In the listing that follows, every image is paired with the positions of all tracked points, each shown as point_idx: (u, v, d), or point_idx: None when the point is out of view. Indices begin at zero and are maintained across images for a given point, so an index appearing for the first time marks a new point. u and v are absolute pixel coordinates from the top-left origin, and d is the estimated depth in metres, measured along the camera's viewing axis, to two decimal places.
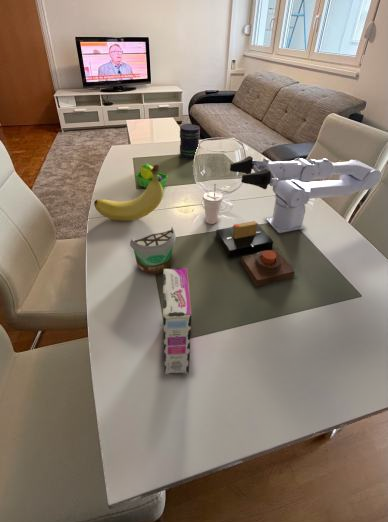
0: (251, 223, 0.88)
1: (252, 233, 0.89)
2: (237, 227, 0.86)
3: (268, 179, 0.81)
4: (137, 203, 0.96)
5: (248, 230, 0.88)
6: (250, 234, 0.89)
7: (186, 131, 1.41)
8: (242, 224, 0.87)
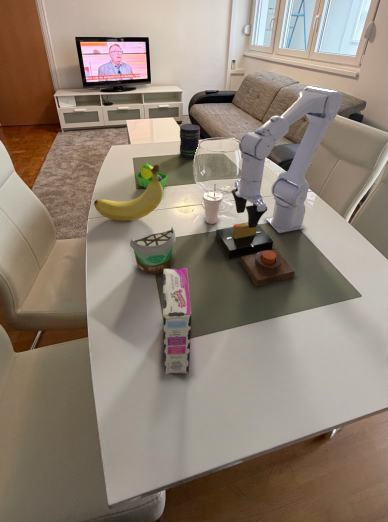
0: None
1: (252, 233, 0.89)
2: (237, 227, 0.86)
3: (257, 211, 0.78)
4: (137, 203, 0.96)
5: (248, 230, 0.88)
6: (250, 234, 0.89)
7: (186, 131, 1.41)
8: (242, 224, 0.87)
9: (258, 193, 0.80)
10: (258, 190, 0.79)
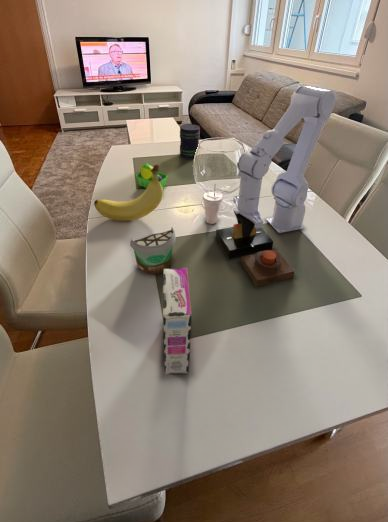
0: None
1: (252, 233, 0.89)
2: (237, 227, 0.86)
3: (250, 222, 0.83)
4: (137, 203, 0.96)
5: None
6: (250, 234, 0.89)
7: (186, 131, 1.41)
8: None
9: (256, 210, 0.83)
10: (256, 207, 0.82)
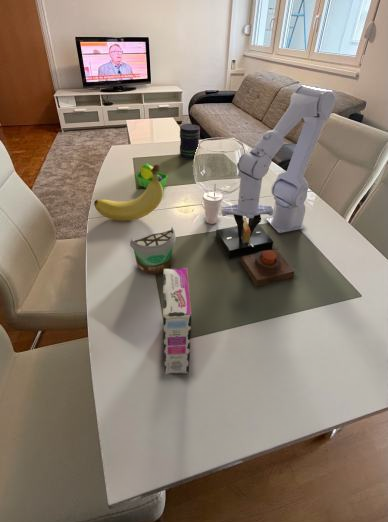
0: (244, 220, 0.89)
1: None
2: None
3: None
4: (137, 203, 0.96)
5: None
6: None
7: (186, 131, 1.41)
8: (245, 226, 0.86)
9: None
10: None
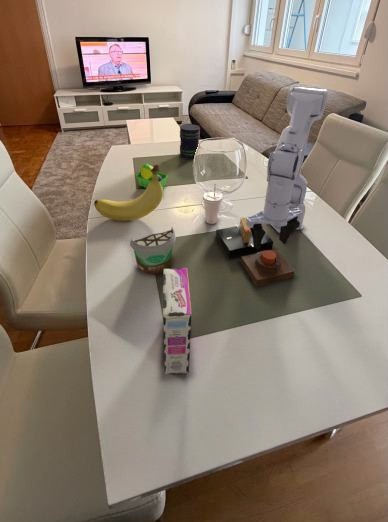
0: (244, 220, 0.89)
1: None
2: None
3: None
4: (137, 203, 0.96)
5: None
6: None
7: (186, 131, 1.41)
8: (245, 226, 0.86)
9: None
10: None
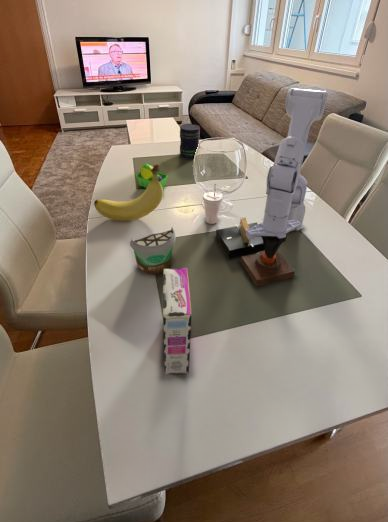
0: (244, 220, 0.89)
1: None
2: None
3: None
4: (137, 203, 0.96)
5: None
6: None
7: (186, 131, 1.41)
8: (245, 226, 0.86)
9: None
10: None
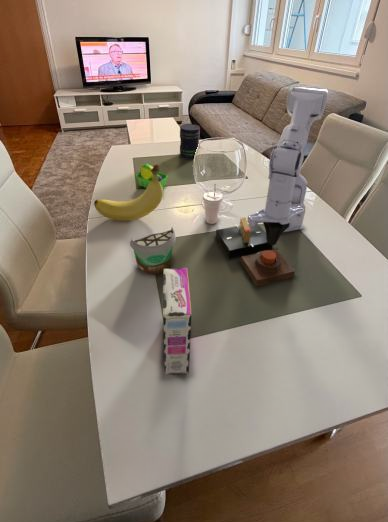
0: (244, 220, 0.89)
1: None
2: None
3: None
4: (137, 203, 0.96)
5: None
6: None
7: (186, 131, 1.41)
8: (245, 226, 0.86)
9: None
10: None
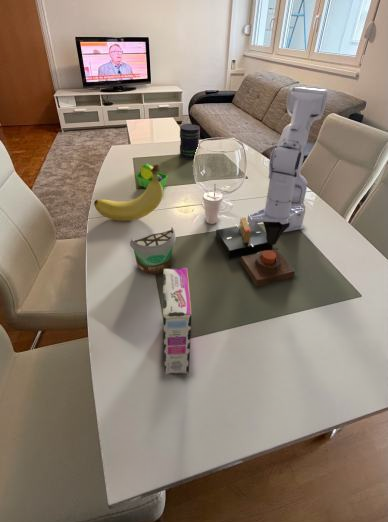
0: (244, 220, 0.89)
1: None
2: None
3: None
4: (137, 203, 0.96)
5: None
6: None
7: (186, 131, 1.41)
8: (245, 226, 0.86)
9: None
10: None
